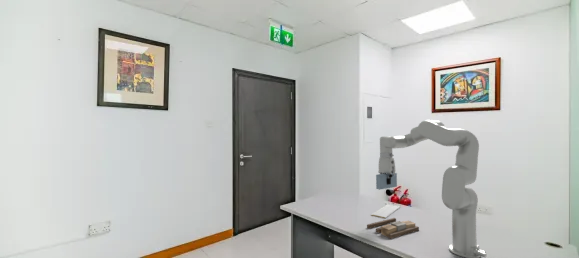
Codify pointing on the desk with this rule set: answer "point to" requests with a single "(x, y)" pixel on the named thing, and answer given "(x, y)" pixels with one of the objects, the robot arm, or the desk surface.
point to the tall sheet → (385, 181)
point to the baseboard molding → (386, 211)
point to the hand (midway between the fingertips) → (386, 183)
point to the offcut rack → (394, 232)
